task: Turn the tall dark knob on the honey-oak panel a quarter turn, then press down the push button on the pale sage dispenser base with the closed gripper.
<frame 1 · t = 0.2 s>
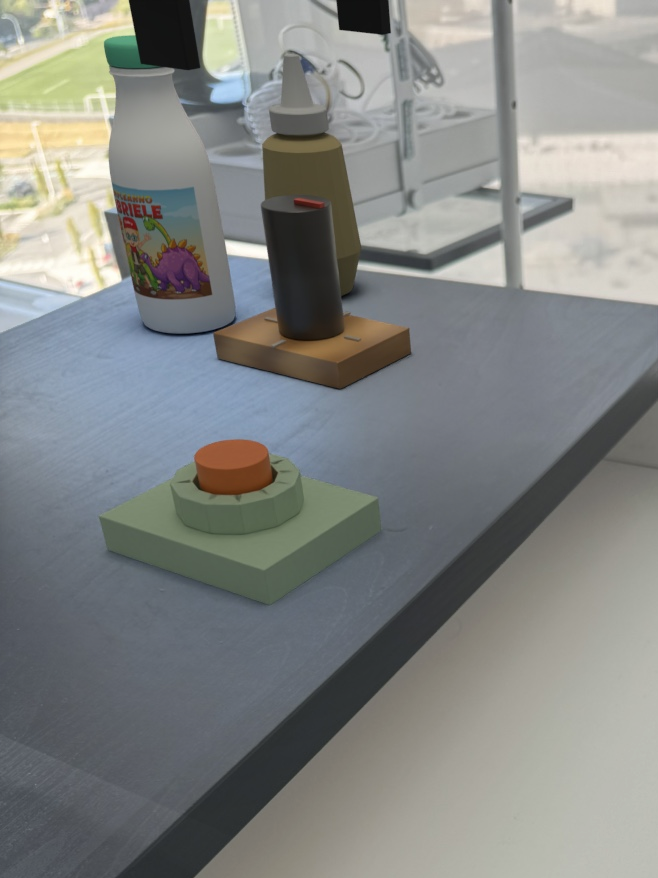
hand: (276, 48, 55), 24 cm above the table, tool pointing down, fingers open, 13 cm apart
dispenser: (247, 540, 68), on the table
squeeze bottle: (320, 293, 104), on the table
panel: (315, 356, 91), on the table
push button: (234, 468, 65), point 4 cm above the table, slide at 0.1 cm
knob: (303, 266, 87), point 7 cm above the table, hinge at 0.0°
milk bottle: (190, 323, 97), on the table
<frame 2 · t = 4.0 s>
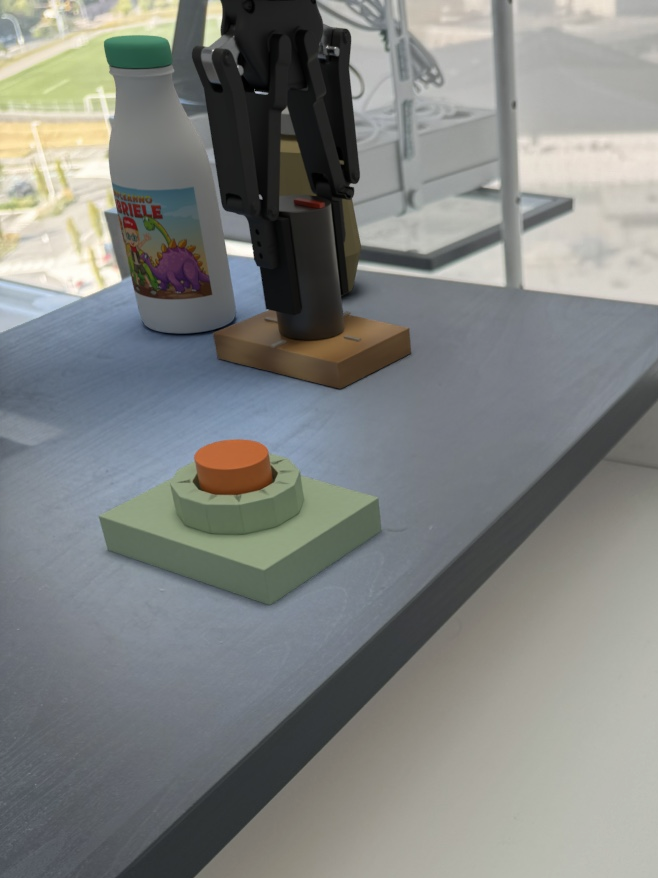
hand: (308, 300, 89), 4 cm above the table, tool pointing down, fingers closed on knob, 5 cm apart
knob: (303, 266, 87), point 7 cm above the table, hinge at -0.1°, touching gripper
everything else where it was.
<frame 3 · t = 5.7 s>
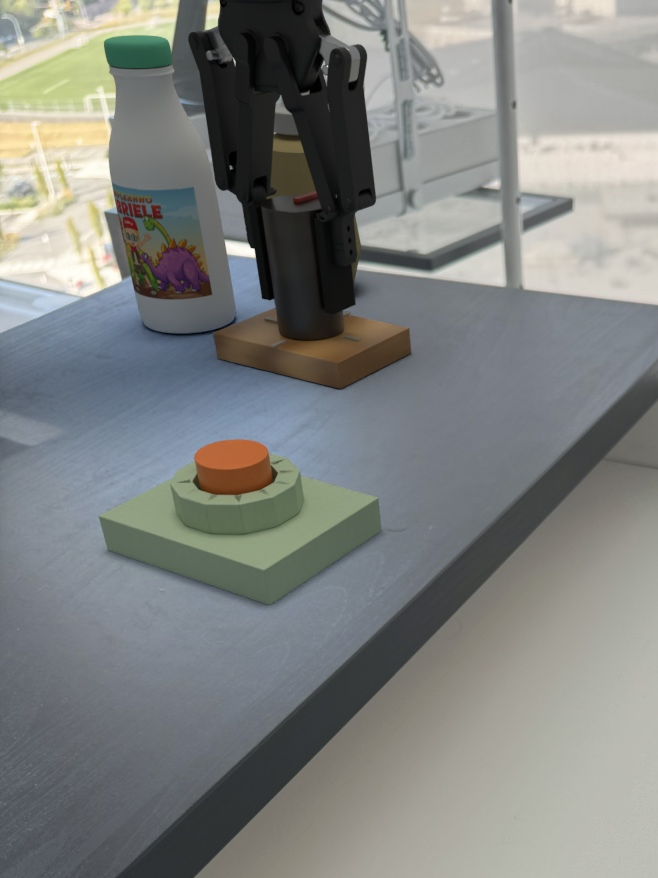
hand: (308, 301, 89), 4 cm above the table, tool pointing down, fingers open, 5 cm apart
knob: (303, 266, 87), point 7 cm above the table, hinge at 89.7°
everything else where it was.
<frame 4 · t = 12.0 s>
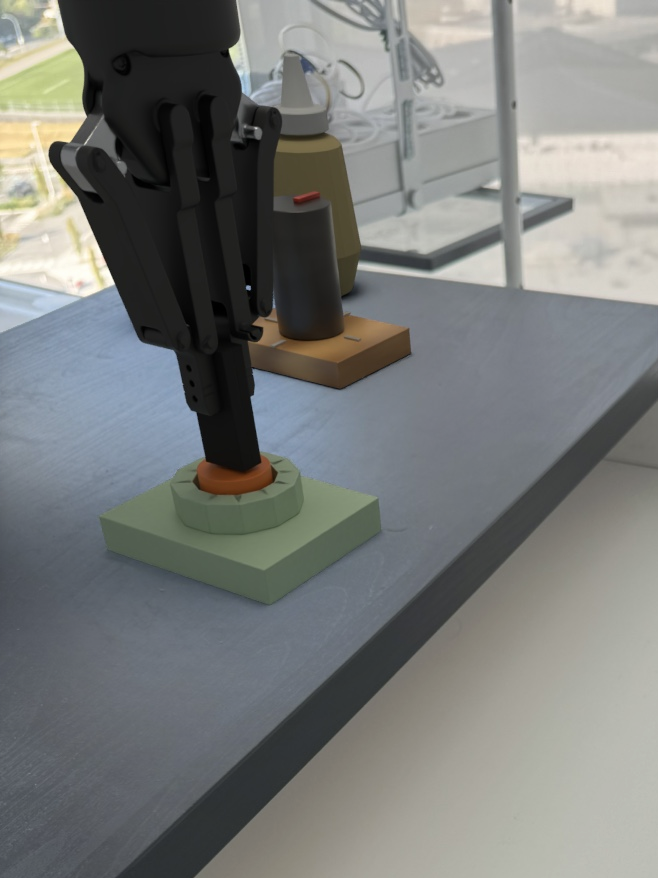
hand: (233, 461, 65), 5 cm above the table, tool pointing down, fingers closed
push button: (236, 480, 66), point 4 cm above the table, slide at -0.6 cm, touching gripper
everything else where it was.
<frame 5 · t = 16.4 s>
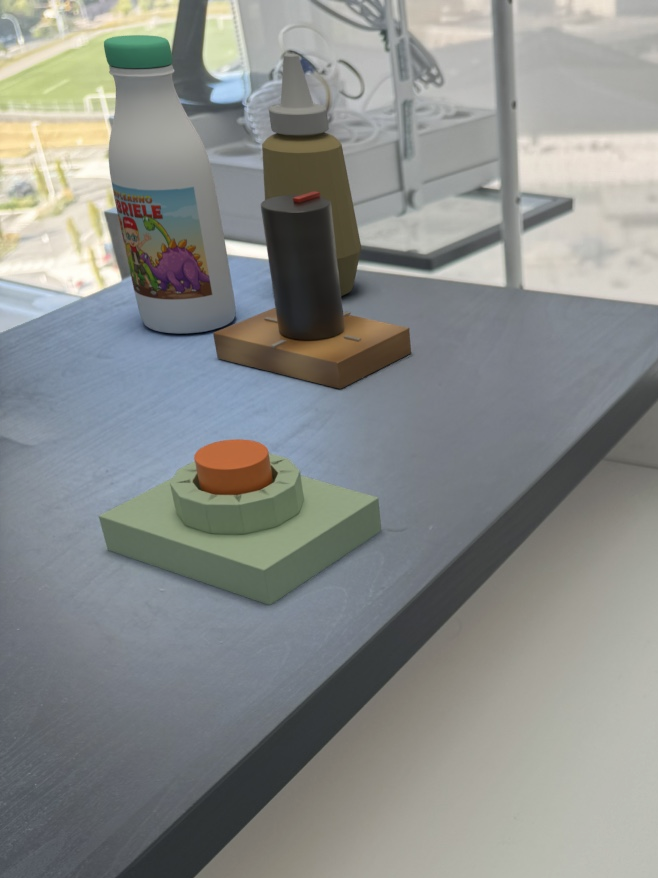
push button: (234, 468, 65), point 4 cm above the table, slide at 0.1 cm
everything else where it was.
at the end: knob at +90° (first picture: +0°); push button pushed in 1.0 cm at the most during the clip, back to where it started at the end; push button slide at 0.1 cm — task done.
